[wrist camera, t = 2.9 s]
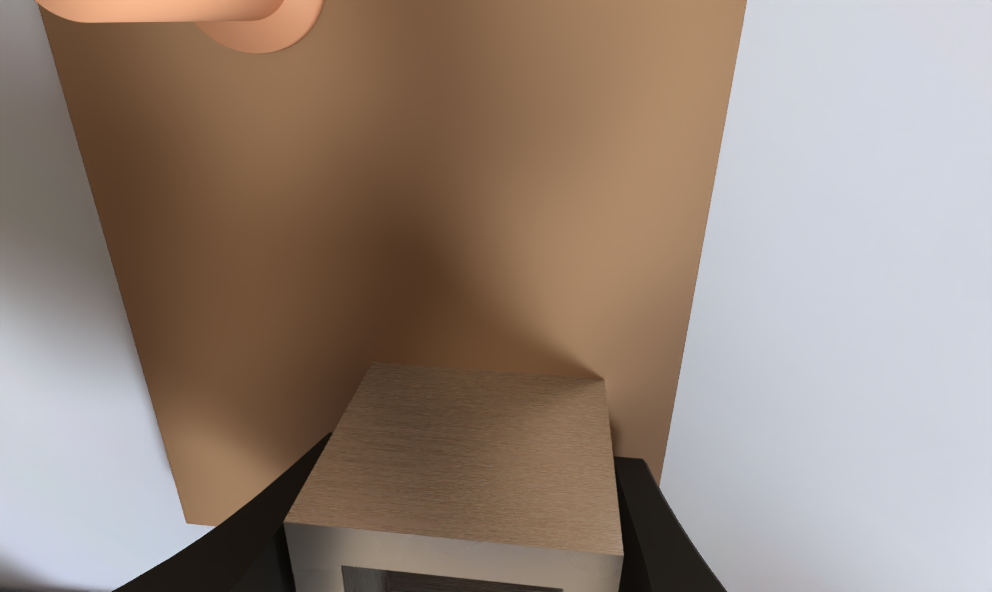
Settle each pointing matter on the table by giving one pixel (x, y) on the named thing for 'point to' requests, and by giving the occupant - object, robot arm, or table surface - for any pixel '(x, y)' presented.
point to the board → (400, 209)
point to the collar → (462, 487)
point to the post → (208, 18)
